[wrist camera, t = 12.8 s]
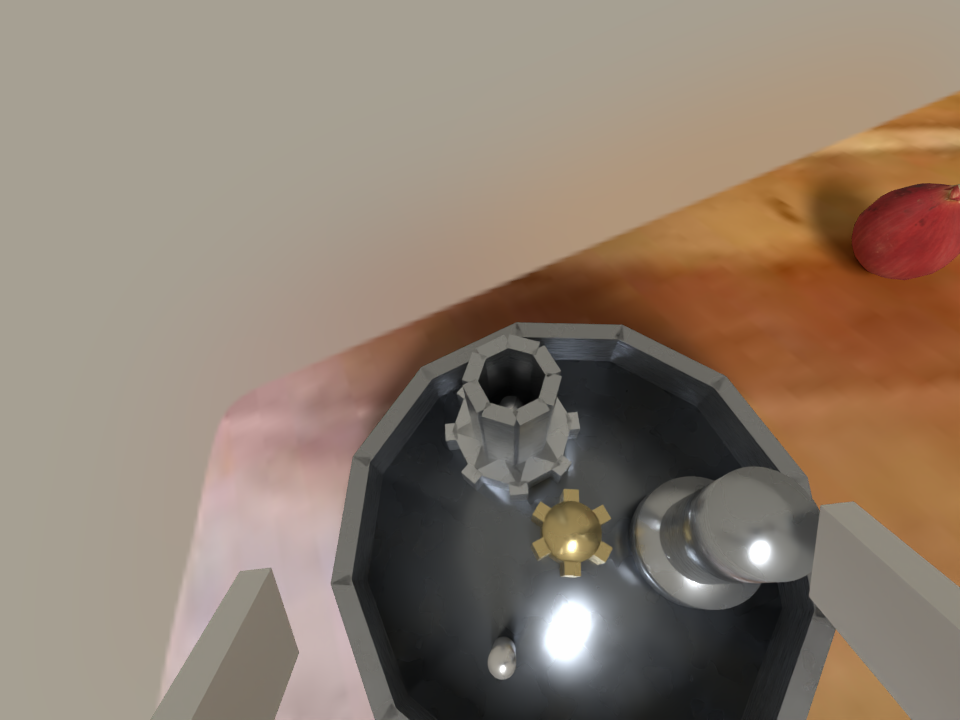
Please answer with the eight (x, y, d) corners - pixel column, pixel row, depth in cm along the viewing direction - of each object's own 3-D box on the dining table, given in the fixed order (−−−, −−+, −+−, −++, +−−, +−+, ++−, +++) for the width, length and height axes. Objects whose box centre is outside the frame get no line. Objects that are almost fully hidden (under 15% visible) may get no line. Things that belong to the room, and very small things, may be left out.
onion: (811, 245, 36) (885, 159, 29) (883, 228, 37) (974, 138, 29) (856, 310, 34) (949, 233, 27) (932, 290, 34) (1045, 210, 27)
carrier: (622, 301, 35) (663, 194, 26) (884, 646, 25) (1105, 679, 16) (309, 452, 32) (222, 393, 22) (470, 919, 22) (438, 1168, 12)
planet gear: (535, 361, 32) (542, 282, 24) (598, 462, 29) (631, 411, 21) (431, 412, 31) (402, 347, 23) (485, 522, 28) (474, 493, 20)
